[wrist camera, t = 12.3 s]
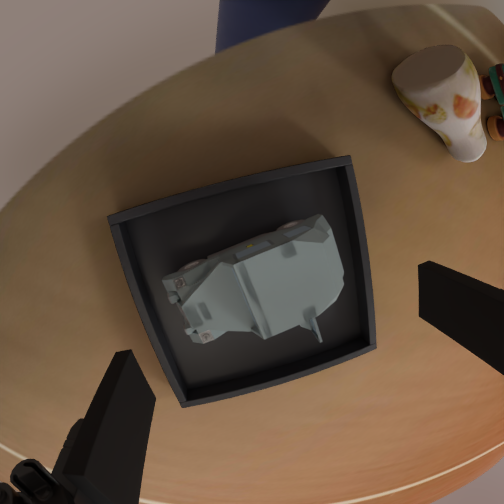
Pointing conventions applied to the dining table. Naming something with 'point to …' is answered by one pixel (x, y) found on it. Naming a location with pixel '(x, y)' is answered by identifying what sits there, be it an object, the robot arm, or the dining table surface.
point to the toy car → (261, 283)
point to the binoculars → (499, 84)
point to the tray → (229, 234)
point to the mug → (444, 97)
